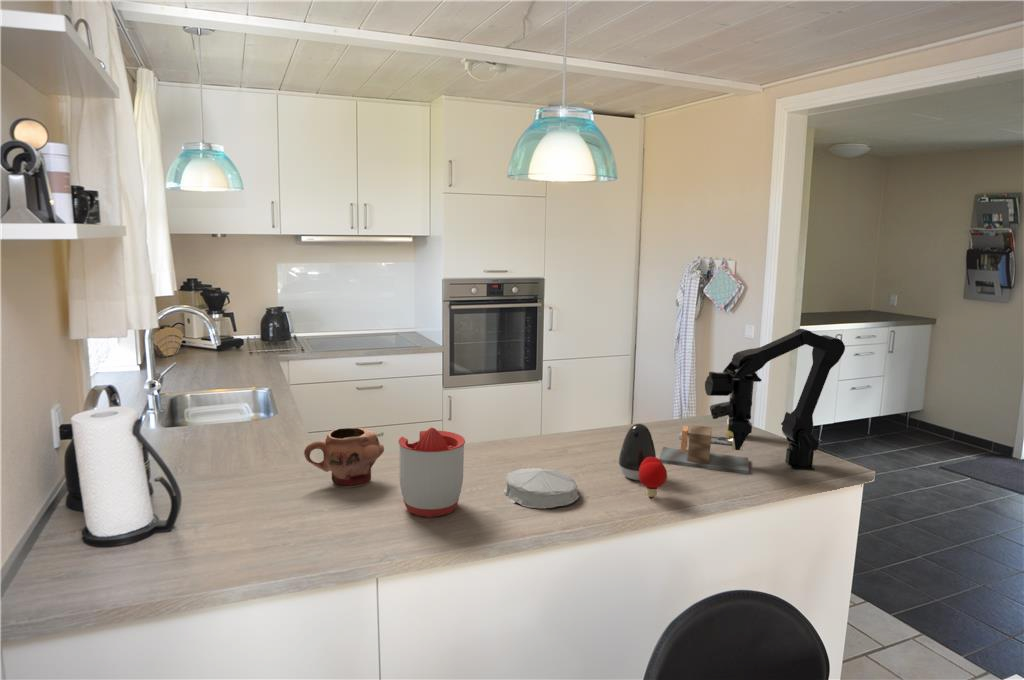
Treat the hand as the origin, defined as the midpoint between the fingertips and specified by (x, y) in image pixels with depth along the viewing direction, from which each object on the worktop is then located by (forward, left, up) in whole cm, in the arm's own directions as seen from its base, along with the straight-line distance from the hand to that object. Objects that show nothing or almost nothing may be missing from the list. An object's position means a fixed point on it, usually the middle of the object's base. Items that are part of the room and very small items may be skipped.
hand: (737, 447), depth 195 cm
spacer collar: (+15, -4, -2) cm, 15 cm away
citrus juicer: (+84, +40, -6) cm, 93 cm away
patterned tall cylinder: (-8, -30, -6) cm, 31 cm away
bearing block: (+9, -2, -6) cm, 11 cm away
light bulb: (+29, +27, -6) cm, 40 cm away
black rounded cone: (+31, +13, -6) cm, 34 cm away
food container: (+57, +28, -6) cm, 64 cm away
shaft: (+7, -2, 0) cm, 8 cm away
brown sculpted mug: (+108, +28, -6) cm, 111 cm away
